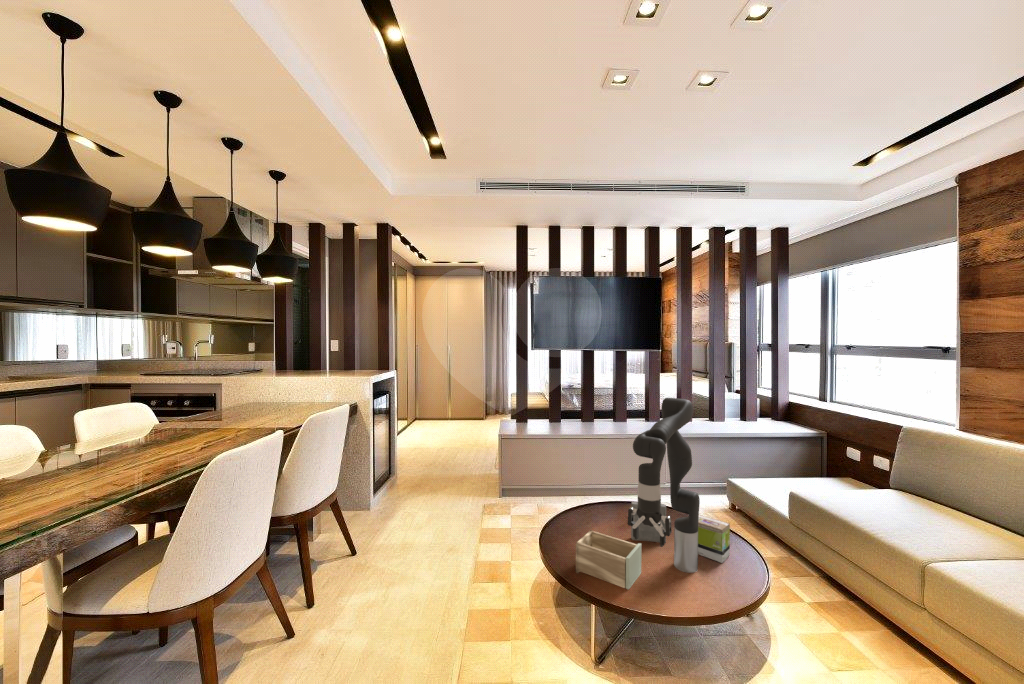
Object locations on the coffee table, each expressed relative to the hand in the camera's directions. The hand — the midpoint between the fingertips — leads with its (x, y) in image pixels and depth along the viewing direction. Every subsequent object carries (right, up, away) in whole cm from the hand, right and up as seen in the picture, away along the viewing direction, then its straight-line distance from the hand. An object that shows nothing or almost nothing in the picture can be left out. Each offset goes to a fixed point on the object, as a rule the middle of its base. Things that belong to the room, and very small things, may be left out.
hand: (648, 542), depth 141 cm
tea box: (+42, -28, +46) cm, 68 cm away
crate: (-8, -27, +30) cm, 41 cm away
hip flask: (+19, -27, +58) cm, 67 cm away
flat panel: (+1, -26, +23) cm, 35 cm away
